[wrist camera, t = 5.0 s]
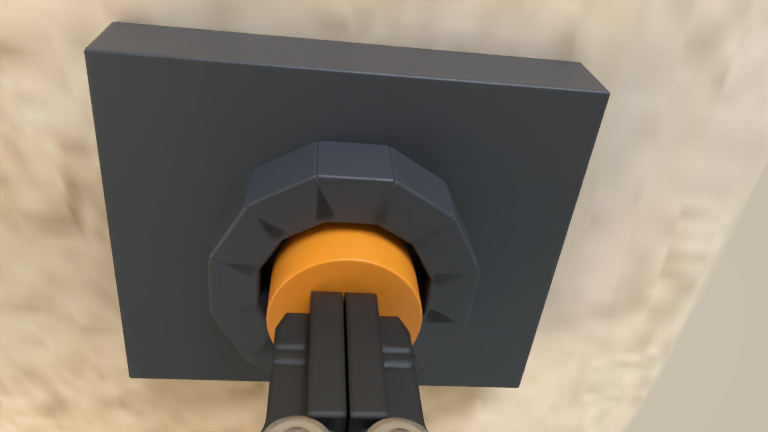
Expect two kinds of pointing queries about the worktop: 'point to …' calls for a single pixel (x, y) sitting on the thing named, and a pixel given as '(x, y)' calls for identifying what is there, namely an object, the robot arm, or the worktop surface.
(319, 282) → the button
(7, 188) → the worktop surface
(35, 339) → the worktop surface
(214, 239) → the switchbox
